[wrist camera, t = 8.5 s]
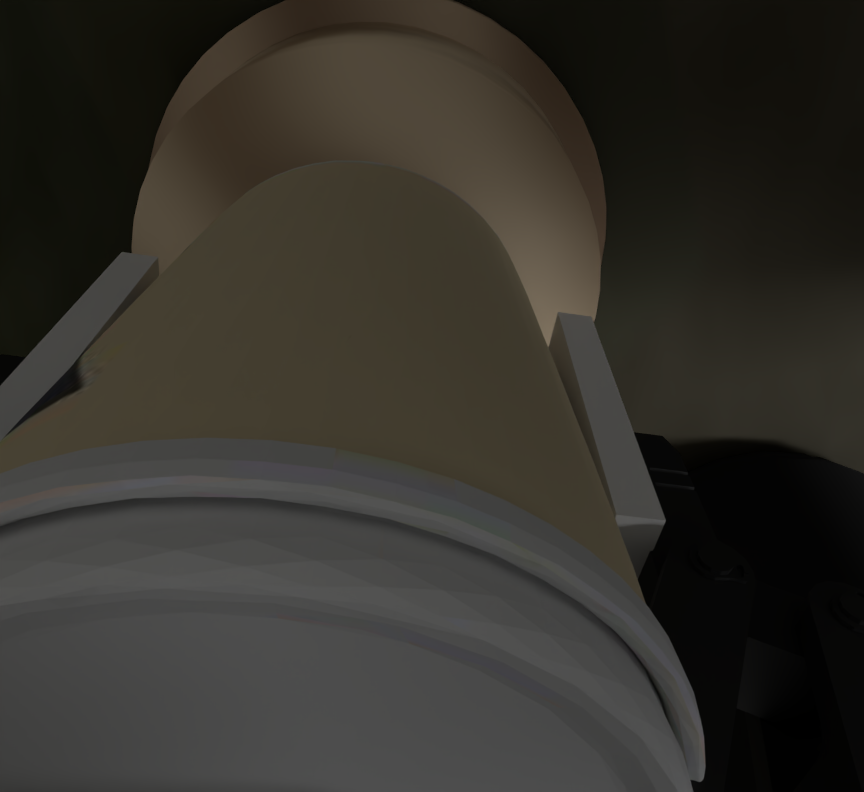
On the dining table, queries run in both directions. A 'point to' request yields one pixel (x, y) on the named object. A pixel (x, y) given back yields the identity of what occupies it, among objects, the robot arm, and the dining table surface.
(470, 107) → the pedestal
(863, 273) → the dining table surface
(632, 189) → the dining table surface
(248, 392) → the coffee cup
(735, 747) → the coffee jar
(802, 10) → the dining table surface
